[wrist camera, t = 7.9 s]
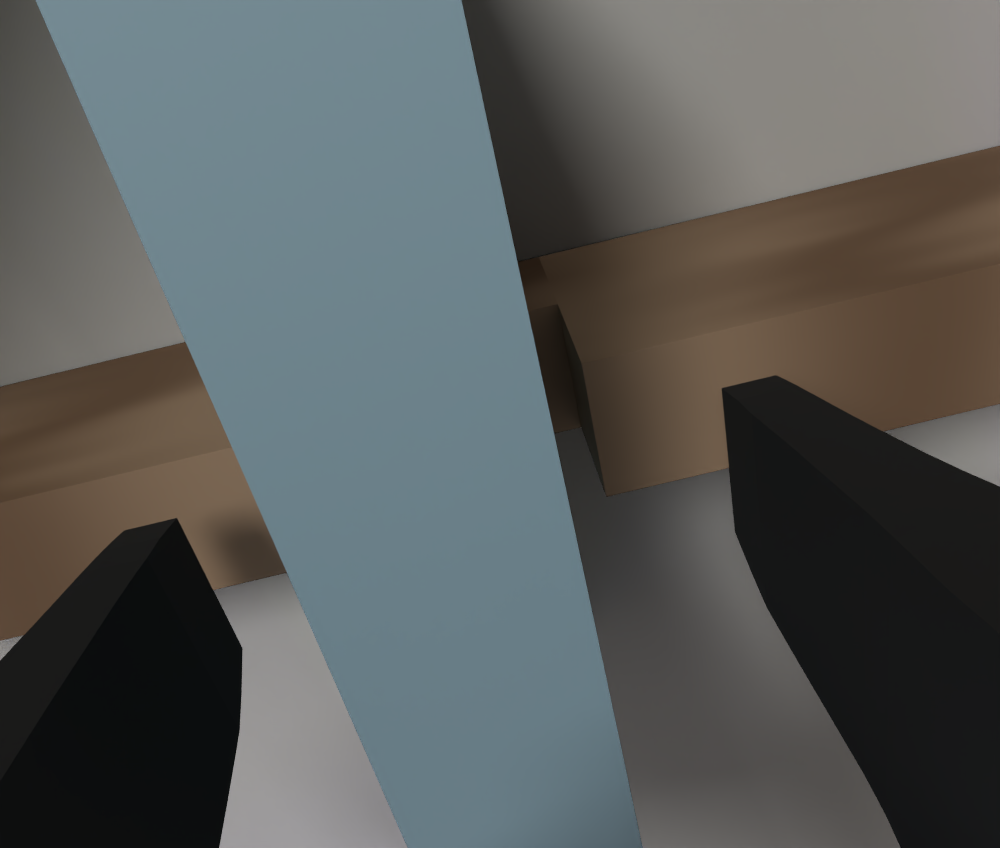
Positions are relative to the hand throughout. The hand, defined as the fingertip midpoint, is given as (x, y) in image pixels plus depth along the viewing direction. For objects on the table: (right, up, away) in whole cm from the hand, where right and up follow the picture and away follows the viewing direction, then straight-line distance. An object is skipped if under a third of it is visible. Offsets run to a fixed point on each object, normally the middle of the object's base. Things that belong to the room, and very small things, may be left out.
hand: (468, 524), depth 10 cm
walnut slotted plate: (-1, +2, +4) cm, 5 cm away
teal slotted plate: (-1, +3, +4) cm, 5 cm away
